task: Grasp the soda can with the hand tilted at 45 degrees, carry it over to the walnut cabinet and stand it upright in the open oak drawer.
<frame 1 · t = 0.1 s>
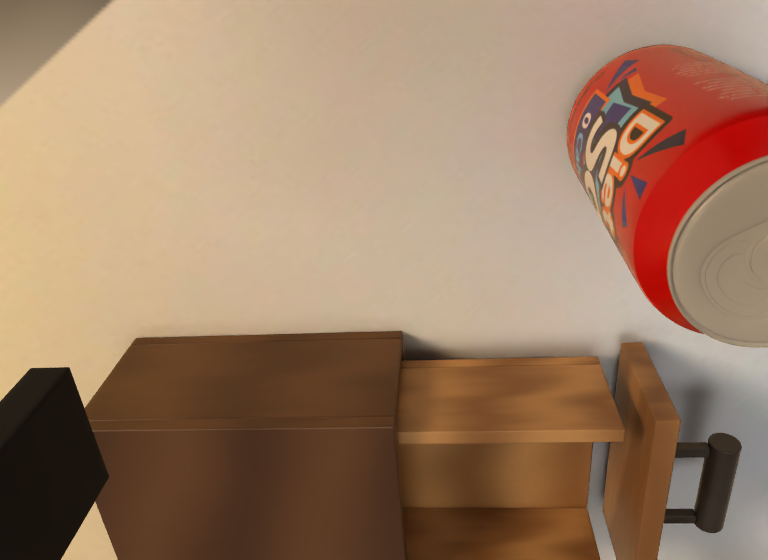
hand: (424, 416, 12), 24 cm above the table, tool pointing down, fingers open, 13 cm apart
drawer: (546, 473, 38), point 4 cm above the table, slide at 12.5 cm
soda can: (642, 122, 33), on the table
cabinet: (283, 427, 44), on the table
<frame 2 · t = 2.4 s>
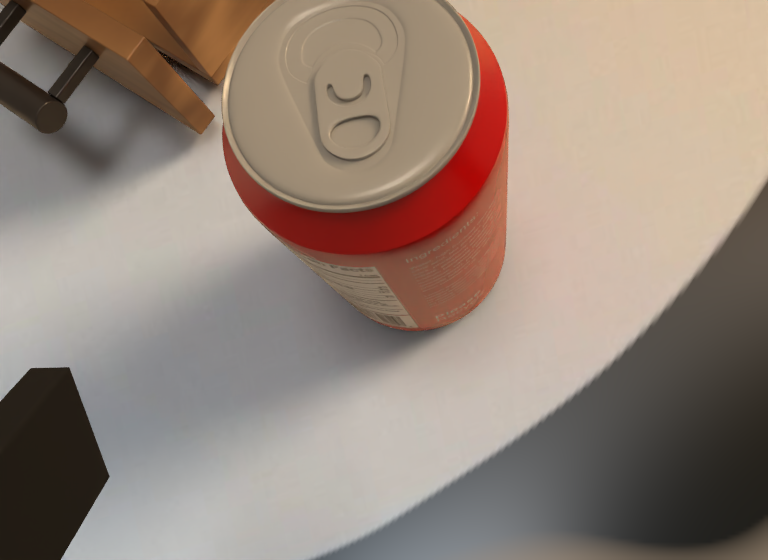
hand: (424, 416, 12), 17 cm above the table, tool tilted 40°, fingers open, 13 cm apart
soda can: (419, 251, 31), on the table
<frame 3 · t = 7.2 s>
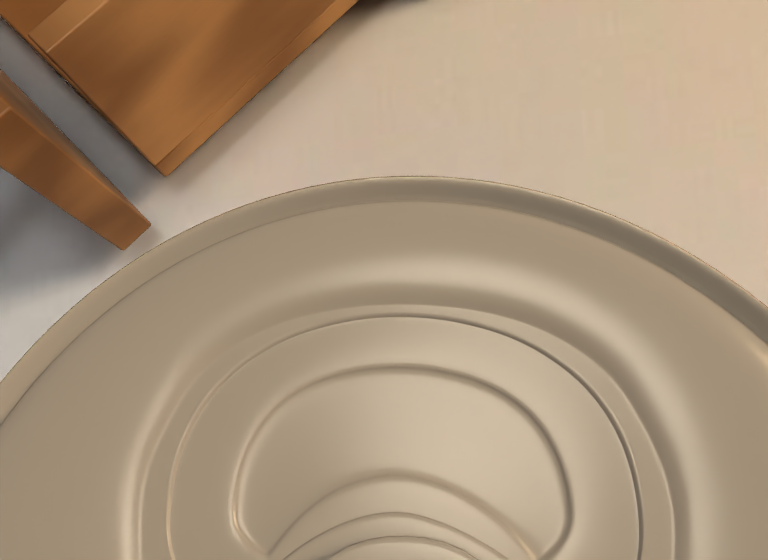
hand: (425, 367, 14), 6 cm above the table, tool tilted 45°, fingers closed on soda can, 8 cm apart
soda can: (441, 526, 18), on the table, touching gripper
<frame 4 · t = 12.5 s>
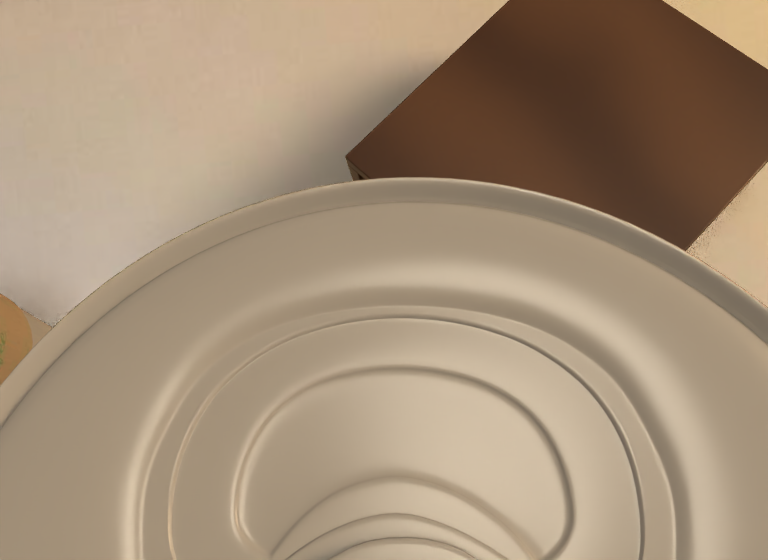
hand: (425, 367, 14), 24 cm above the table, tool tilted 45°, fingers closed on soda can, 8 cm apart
soda can: (441, 526, 18), point 18 cm above the table, touching gripper
coffee cup: (26, 368, 40), on the table
cabinet: (551, 203, 39), on the table
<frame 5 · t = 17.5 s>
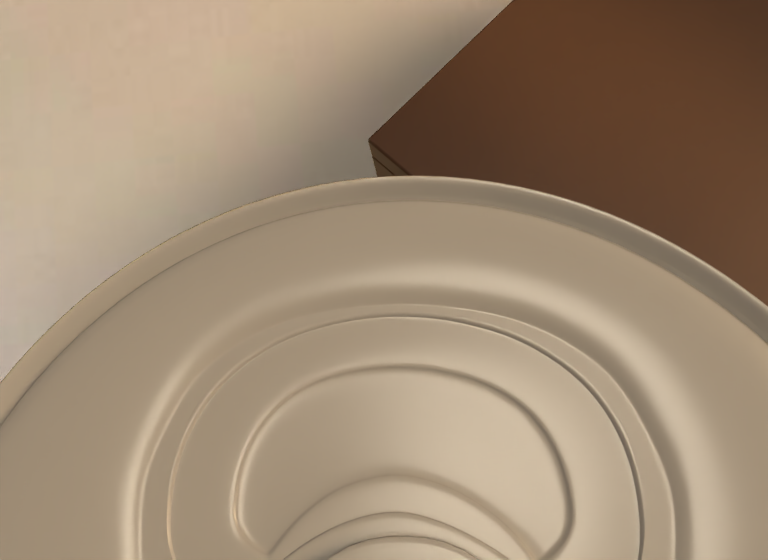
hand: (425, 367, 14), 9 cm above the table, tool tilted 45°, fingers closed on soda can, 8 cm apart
soda can: (441, 526, 18), point 3 cm above the table, touching gripper
cabinet: (710, 223, 23), on the table
when the fingers open (9 cm above the table, at t = 18.0 s): soda can drops 1 cm, resting on drawer.
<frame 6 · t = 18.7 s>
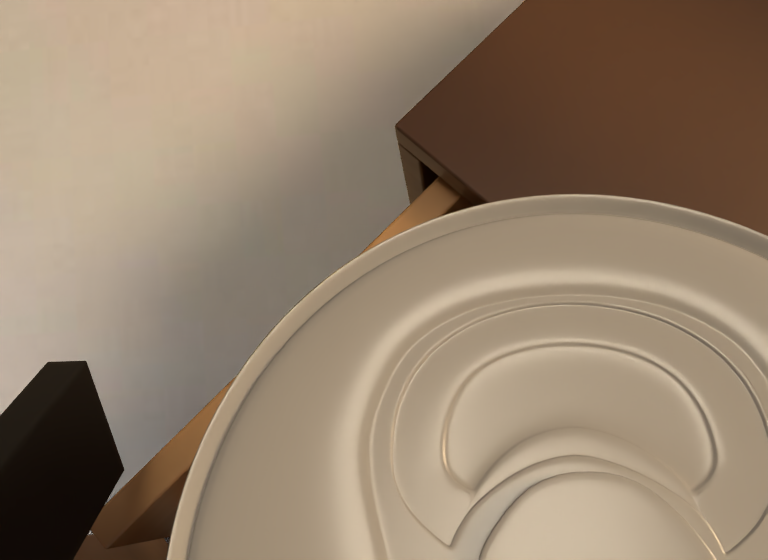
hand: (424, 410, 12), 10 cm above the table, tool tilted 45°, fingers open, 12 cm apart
soda can: (503, 531, 19), point 2 cm above the table, touching drawer
cabinet: (737, 215, 23), on the table
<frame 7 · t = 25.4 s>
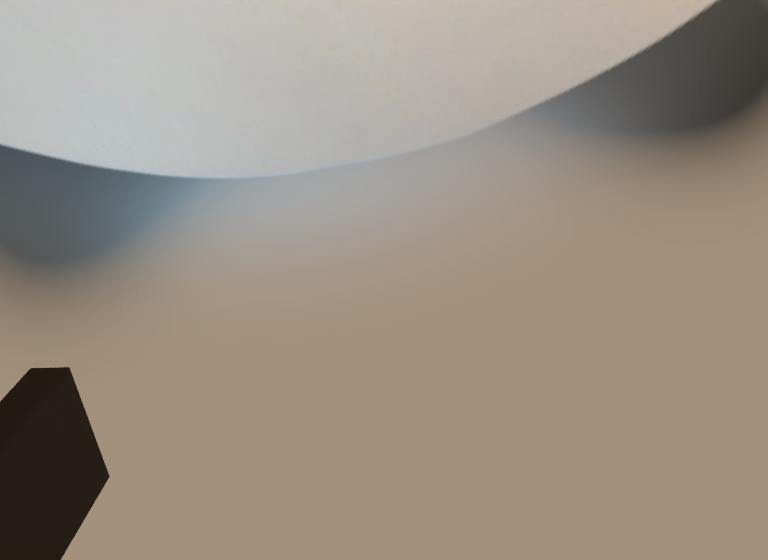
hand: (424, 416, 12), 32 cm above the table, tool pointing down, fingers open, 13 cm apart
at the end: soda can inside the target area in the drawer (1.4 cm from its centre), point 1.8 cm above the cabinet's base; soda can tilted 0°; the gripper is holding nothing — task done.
